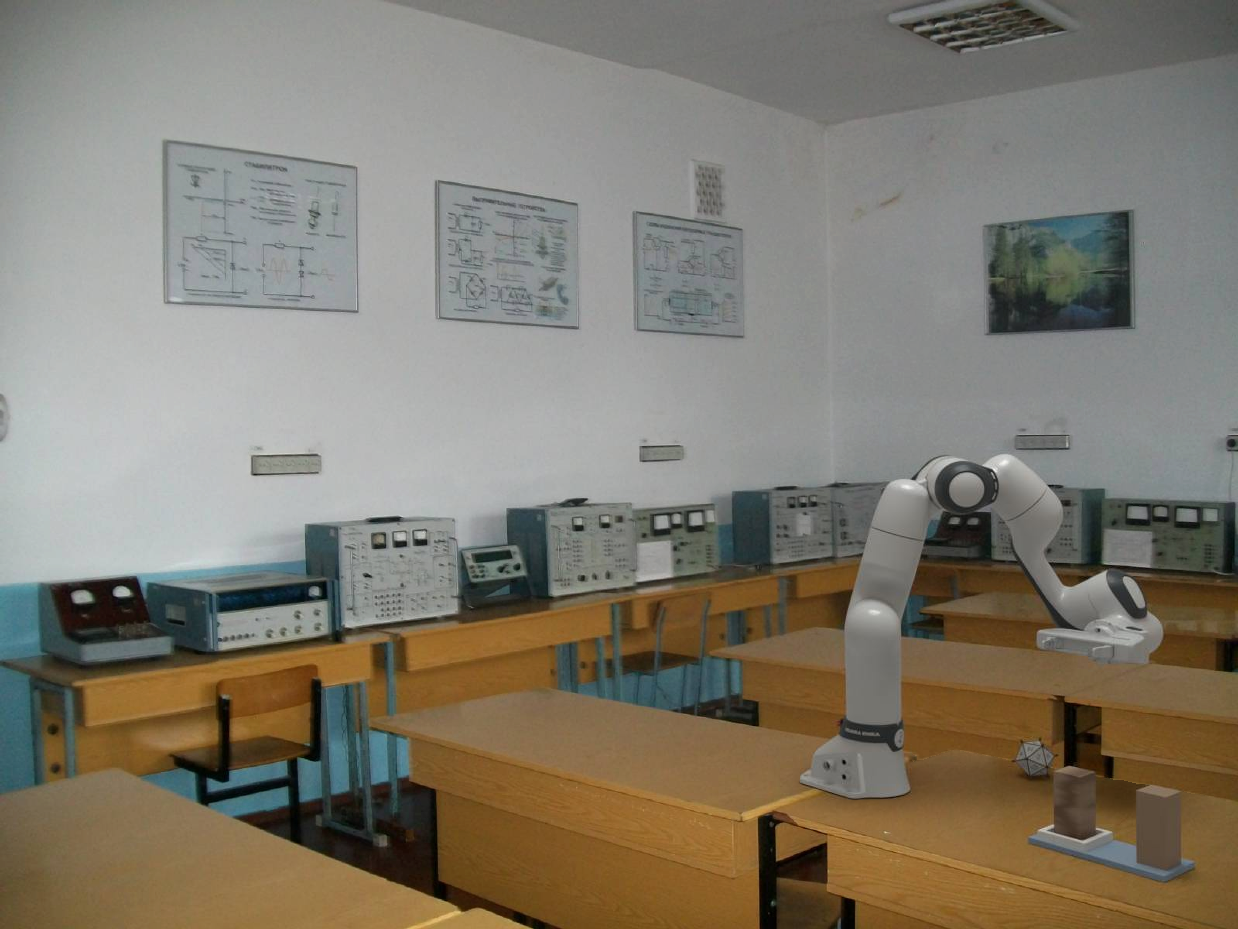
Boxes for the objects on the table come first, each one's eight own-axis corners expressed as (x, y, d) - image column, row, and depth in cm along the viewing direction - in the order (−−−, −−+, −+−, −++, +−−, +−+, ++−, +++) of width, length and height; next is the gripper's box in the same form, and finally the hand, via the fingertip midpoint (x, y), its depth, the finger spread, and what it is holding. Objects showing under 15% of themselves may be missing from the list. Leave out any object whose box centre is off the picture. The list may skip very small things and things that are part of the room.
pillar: (1053, 839, 209) (1053, 771, 209) (1069, 833, 212) (1069, 766, 212) (1080, 846, 205) (1080, 777, 205) (1095, 840, 208) (1095, 771, 208)
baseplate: (1028, 843, 210) (1027, 769, 210) (1059, 830, 216) (1059, 759, 216) (1164, 882, 191) (1164, 802, 191) (1194, 867, 197) (1194, 789, 197)
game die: (1026, 795, 250) (996, 756, 251) (1042, 772, 256) (1012, 735, 257) (1058, 783, 243) (1027, 743, 245) (1073, 760, 249) (1043, 722, 250)
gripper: (1058, 618, 242) (1019, 625, 233) (1156, 632, 226) (1118, 640, 217) (1058, 649, 242) (1019, 657, 234) (1156, 665, 226) (1117, 674, 217)
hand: (1067, 649), depth 225 cm, fingers open, 8 cm apart
